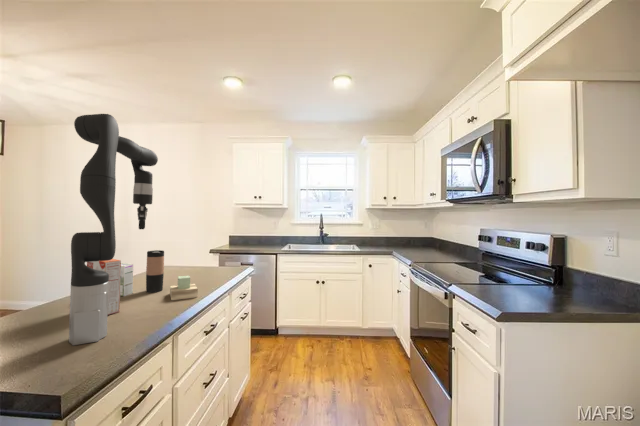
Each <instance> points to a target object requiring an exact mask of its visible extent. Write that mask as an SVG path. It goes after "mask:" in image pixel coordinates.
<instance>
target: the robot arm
mask: <svg viewBox="0 0 640 426" xmlns="http://www.w3.org/2000/svg"><path fill="white" fill-rule="evenodd" d="M73 125H74V130H75V132H76V133H77V135H78V136H79V137H80V139H82V140H83V141H86V142H88V143H91V144H94V145H97V148H96V150H95V152H94V154H93V155H92V157H91V158H90V159H89V160H88V161H87V163H86V165H85V166H84V167H83V168H82V170H81V174H80V181H79V193H80V195H81V198H82V199H83V201H85V203H86V204H87V205H88V207H89V208H90V209H91V210H92V212H93V213H94V214H95V215H96V217H97V218H98V220H99V223H100V224H101V226H102V230H103V231H100V232H99V231H96V232H95V231H94V232H93V231H92V232H91V231H90V232H89V231H87V232H86V231H85V232H83V231H82V232H76V233H74V234H73V235H72V238H71V243H70V253H71V254H70V256H71V259H70V260H71V276H70V277H71V279H70V293H69V295H70V296H69V297H70V299H69V320H68V321H69V324H68V330H69V331H68V344H71V346H77V345H83V344H90V343H96V342H99V341H100V340H102V339H103V338H105V337H107V335H108V317H109V315H108V286H109V274H108V273H107V272H105V271H100V270H95V269H92V268H90V267H88V266H87V264H85V263H87V262H92V261H99V260H100V261H106V260H111V259H114V258H115V254H116V250H117V249H116V246H117V245H116V241H117V240H116V227H115V226H116V225H115V223H116V222H115V206H116V205H115V203H116V202H115V201H116V183H117V182H116V161H117V160H116V159H117V153H118V154H120V155H122V156H124V157H126V158H127V159H129V160H130V162H131V165H132V168H133V169H132V170H133V173H134V183H133V184H134V185H133V190H132V193H133V195H132V196H133V197H132V198H133V199H132V203H133V204H135V205H136V204H137V205H139V206H138V207H137V208H136V209H137V220H138V230H145V229H146V220H147V216H148V208H147V205H153V197H154V196H153V191H154V190H153V189H154V188H153V173H152V172H150V171H147V170H144V168H143V167H154V166H156V165H157V163H158V160H159V158H158V156H157V153H155V151H153V150H151V149H149V148H146V147H143V146H141V145H139V144H138V143H136V142H135V141H133V140H131V139H129V138H127V137H123V136H120V129H119V124H118V121H117V120H116V118H115V117H114V116H113V115H112V114H109V113H95V114H94V113H93V114H83V115H79V116H77V117H76V118H75V120H74V123H73Z"/></svg>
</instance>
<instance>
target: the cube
mask: <svg viewBox="0 0 640 426" xmlns="http://www.w3.org/2000/svg"><path fill="white" fill-rule="evenodd" d="M190 284H191V276H190V275H183V276H182V275H181V276H179V275H178V276H177V285H178V289H186V288H190Z"/></svg>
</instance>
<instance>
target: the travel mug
mask: <svg viewBox="0 0 640 426" xmlns="http://www.w3.org/2000/svg"><path fill="white" fill-rule="evenodd" d="M164 271H165V250H160V249H159V250H157V249H156V250H155V249H154V250H148V251H147V252H146V270H145V272H146V273H145V274H146V275H145V287H146V288H145V291H146V293H148V294H149V293H151V294H152V293H160V292H162V291H163V289H164V275H165V272H164Z"/></svg>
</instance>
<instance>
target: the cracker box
mask: <svg viewBox="0 0 640 426" xmlns="http://www.w3.org/2000/svg"><path fill="white" fill-rule="evenodd" d="M121 264H122V260H121V259H115V258H113V259H111V260H106V261H100V260H99V261H92V262H86V266H88V267H90V268H92V269H95V270H100V271H105V272H107V273H108V274H109V286H108V316H110V315H113V314H116V313H119V312H120V305H121V301H120V300H121V296H120V273H121Z"/></svg>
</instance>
